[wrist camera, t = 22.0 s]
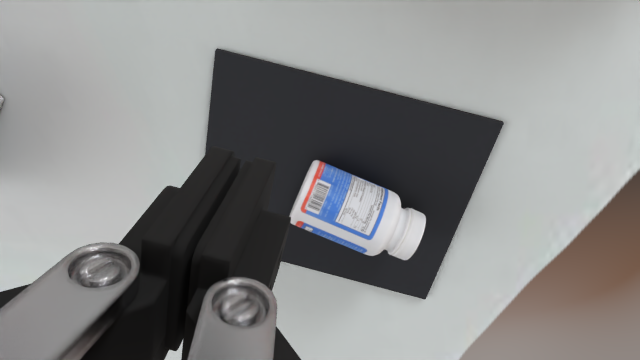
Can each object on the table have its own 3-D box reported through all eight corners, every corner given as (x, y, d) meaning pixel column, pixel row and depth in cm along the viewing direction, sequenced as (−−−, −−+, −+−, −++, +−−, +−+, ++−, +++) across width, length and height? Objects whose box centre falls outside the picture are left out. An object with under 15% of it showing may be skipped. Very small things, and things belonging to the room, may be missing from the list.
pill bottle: (298, 189, 40) (401, 233, 40) (280, 234, 36) (394, 283, 36) (320, 144, 36) (432, 193, 37) (302, 189, 32) (428, 244, 33)
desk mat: (198, 236, 44) (196, 238, 43) (217, 48, 35) (215, 49, 34) (425, 296, 43) (425, 299, 43) (502, 121, 34) (504, 123, 34)
